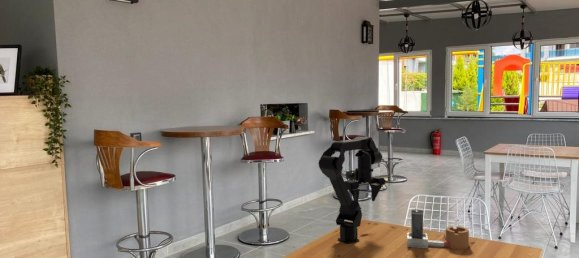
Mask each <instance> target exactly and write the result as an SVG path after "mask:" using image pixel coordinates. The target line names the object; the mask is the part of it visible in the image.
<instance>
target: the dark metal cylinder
mask: <svg viewBox="0 0 579 258" xmlns="http://www.w3.org/2000/svg"><path fill="white" fill-rule="evenodd" d="M410 213H411V219H410V221H411V222H410V225H411V226H410V227H411V232H410V233H411V238H416V239H423V233H424V210H422V209H411V211H410Z"/></svg>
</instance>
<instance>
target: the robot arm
mask: <svg viewBox="0 0 579 258" xmlns="http://www.w3.org/2000/svg"><path fill="white" fill-rule="evenodd" d="M349 151H350V152H351V151H357V152H356V153H355V155H354V157H356V158H357V168H355V171H354V172H353V171H351V170H349V171H346V172H345V179H347V180H344V178H343V177H344V176H343V175H342V171H343V170H344V169H343V168H344V167H343V164H344V163H345V161H346V158H345V154H346V152H349ZM335 153H339V156H333V155H335ZM382 161H383V155H382V153H381V151H379V148H378V147H377V145H376V144H375V141H374V139H373V137H372V136H371V137H370V136H356V137H354V138H353V139H352V140H351V139H350V140H343V141H333V142H332V144H331V145H330V147H328V148H327V149H326V150H324V152H323V153H322V154H321V156H320V159H319V160H318V168H319V170H320V171H321V172H322V174H323V175H324V176H326V177H327V178H328V179H329V181H330V183H331V186H332V188H333V190H334V193H335V196H336V198H337V199H338V202H339V205H340V206H339V209H338V212H339V213H338V215H337V217H336V219H335V222H336V223H335V224H336V226H339V237H338V238H337V240H338V241H340V242H343V243H345V244H351V243H352V244H353V243H355V242H356V243H357V242H359V241H360V239H359V238H358V235H359V234H358V231H359V230H358V228H359V227H361V224H362V223H361V222H362V217H363V212H362V207H361V205H360V202H359V198H360V189H359V188H360V187H361V186H366V185H367V186H368V185H369V186H370V189H371V201H372V202H375V200H376V198H377V197H378V195H379V193H380V191H381V189H382V188H383V187H384V186H385V185H386V178H385V177H382V176H372V173H374V168H372V165H376V164H379V163H381V162H382ZM351 196H352V197H351Z"/></svg>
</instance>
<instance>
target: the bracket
mask: <svg viewBox="0 0 579 258" xmlns="http://www.w3.org/2000/svg"><path fill="white" fill-rule="evenodd" d="M469 235H470V230H469V228H467V227H463V226H459V225H458V226H457V225H456V227H454V226H453V225H452V226H447V227H446V228H445V230H444V231H443V238H444V239H443V240H446V241H448V242H450V248H449V249H454V250H468V249H469V247H470V246H469V245H470V244H469V240H470V237H469Z"/></svg>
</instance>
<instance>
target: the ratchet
mask: <svg viewBox="0 0 579 258" xmlns="http://www.w3.org/2000/svg"><path fill="white" fill-rule="evenodd" d="M406 236H407V237H406V238H407V239H406V240H407V241H406V242H407V243H406V244H407V246H406V247H407V248H416V249H417V248H418V249H429V247H437V248H448V249H451V248H450V242H448V241H446V240H445V239H442V240H429V238H428V233H426V232H425V233H424V232H423V239H416V238H411V232H407V233H406Z"/></svg>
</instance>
